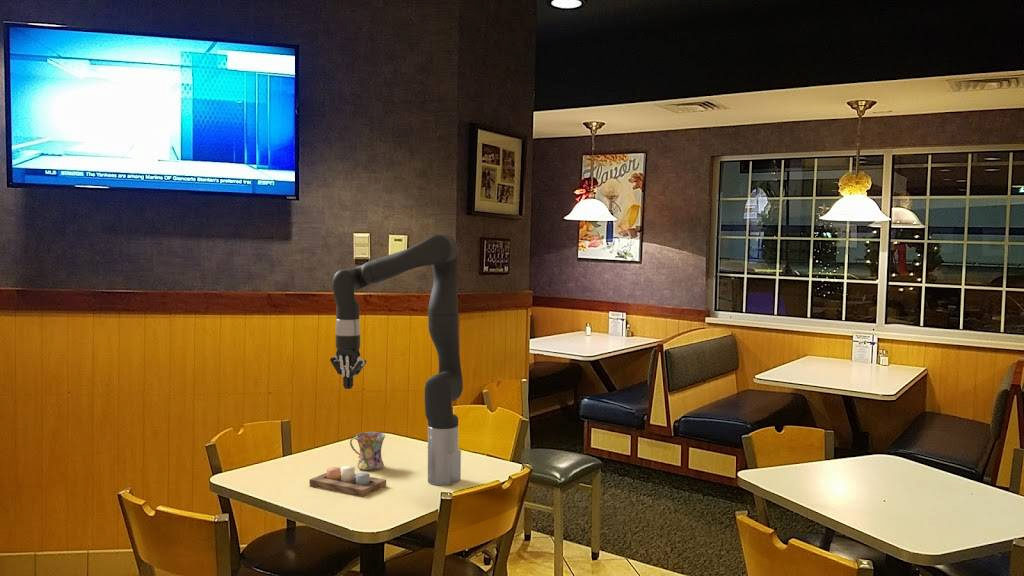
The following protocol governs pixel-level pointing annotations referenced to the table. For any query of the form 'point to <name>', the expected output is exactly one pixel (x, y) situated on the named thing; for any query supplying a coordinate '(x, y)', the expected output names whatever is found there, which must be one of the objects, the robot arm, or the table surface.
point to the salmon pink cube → (333, 473)
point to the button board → (347, 485)
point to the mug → (369, 450)
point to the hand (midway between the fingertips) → (348, 388)
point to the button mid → (347, 474)
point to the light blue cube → (362, 479)
